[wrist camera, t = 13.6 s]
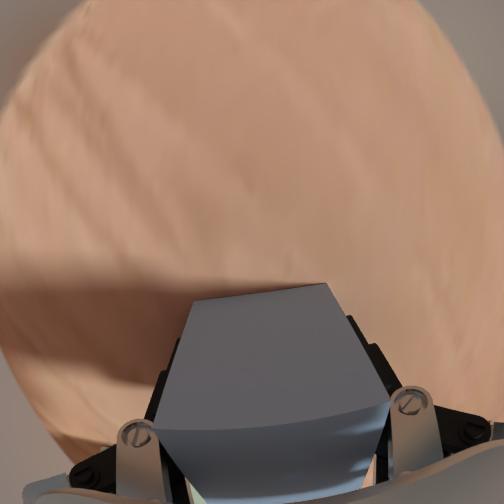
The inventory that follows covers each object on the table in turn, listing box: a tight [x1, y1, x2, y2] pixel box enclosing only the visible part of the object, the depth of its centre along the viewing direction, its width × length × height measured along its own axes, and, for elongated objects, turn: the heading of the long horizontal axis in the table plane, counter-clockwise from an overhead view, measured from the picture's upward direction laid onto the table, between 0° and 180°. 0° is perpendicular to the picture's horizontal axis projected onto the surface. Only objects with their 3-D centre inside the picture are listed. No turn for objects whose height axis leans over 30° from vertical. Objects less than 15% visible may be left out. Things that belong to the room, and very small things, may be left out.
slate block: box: [152, 283, 392, 504], centre depth 8 cm, size 5×5×6 cm
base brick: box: [99, 446, 207, 504], centre depth 13 cm, size 7×7×4 cm
